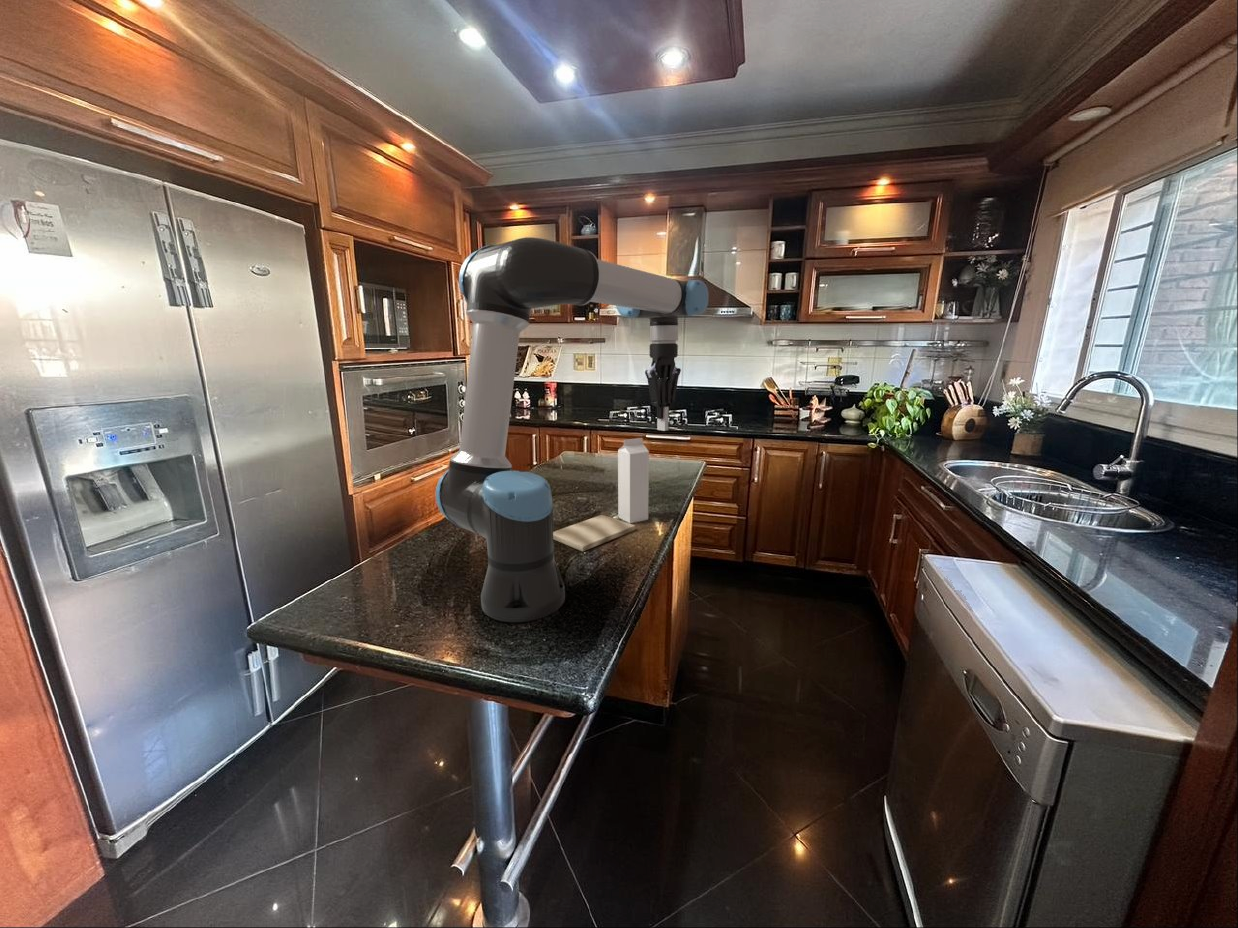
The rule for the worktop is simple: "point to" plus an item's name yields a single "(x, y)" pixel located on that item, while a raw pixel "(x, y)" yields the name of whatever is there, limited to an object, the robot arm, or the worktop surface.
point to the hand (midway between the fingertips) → (662, 429)
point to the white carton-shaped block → (633, 481)
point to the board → (592, 532)
